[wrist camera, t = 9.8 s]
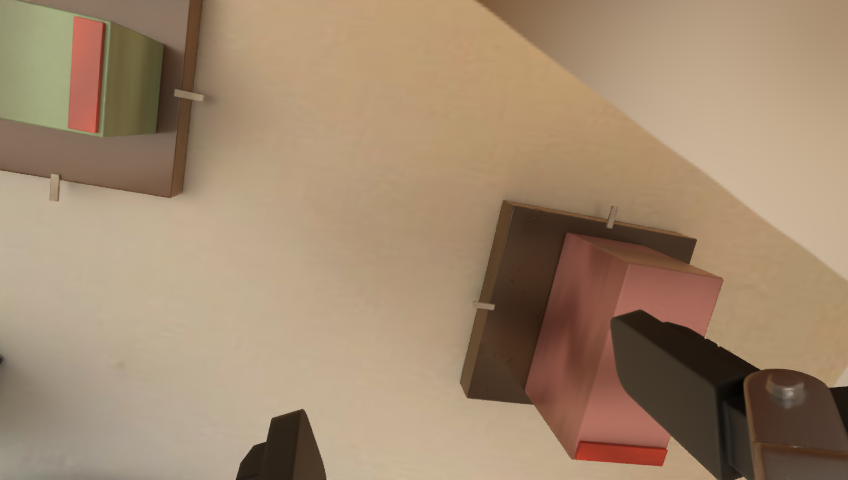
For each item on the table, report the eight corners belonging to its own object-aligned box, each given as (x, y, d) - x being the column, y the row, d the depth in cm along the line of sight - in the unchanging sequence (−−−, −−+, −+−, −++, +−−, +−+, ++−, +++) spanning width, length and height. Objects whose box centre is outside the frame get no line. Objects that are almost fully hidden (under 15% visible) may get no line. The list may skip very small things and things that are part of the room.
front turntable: (-63, -101, 24) (-101, -122, 22) (227, -27, 26) (218, -39, 24) (-64, 172, 26) (-99, 177, 24) (200, 214, 29) (189, 222, 27)
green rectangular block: (-46, 96, 24) (-174, 88, 18) (-45, -3, 23) (-180, -47, 17) (156, 134, 26) (100, 138, 20) (164, 43, 25) (109, 19, 19)
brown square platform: (490, 180, 31) (501, 184, 29) (696, 220, 34) (718, 226, 32) (441, 395, 34) (447, 413, 32) (634, 414, 37) (651, 432, 35)
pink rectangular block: (566, 231, 31) (632, 264, 24) (643, 245, 32) (728, 280, 25) (523, 390, 33) (573, 463, 26) (597, 398, 34) (664, 469, 27)
